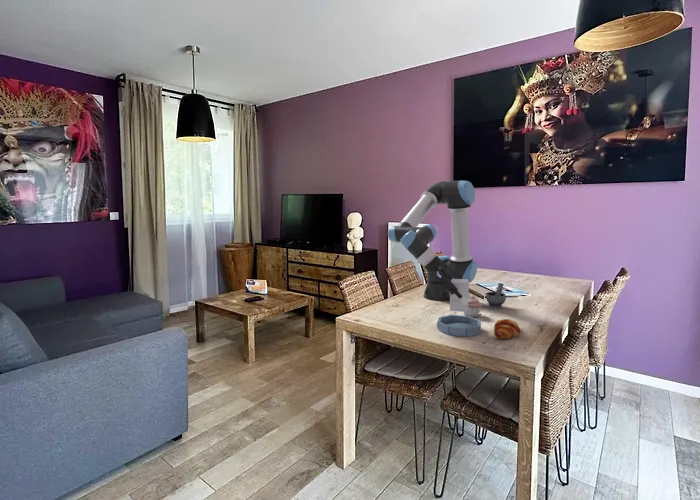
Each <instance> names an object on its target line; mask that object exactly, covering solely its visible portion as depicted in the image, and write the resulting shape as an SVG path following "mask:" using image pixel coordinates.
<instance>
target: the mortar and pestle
mask: <svg viewBox="0 0 700 500" xmlns="http://www.w3.org/2000/svg"><path fill="white" fill-rule="evenodd" d="M503 287H504V283H501V282H499V283H497V287H496V290H495V291H488V292H486V293H485V299H486V301H487V303H488V307H489V308H490V309H493V310H501V309H503V305H504V304H505V302H506V299H507V294H506V293H503Z"/></svg>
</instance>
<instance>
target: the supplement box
mask: <svg viewBox="0 0 700 500" xmlns="http://www.w3.org/2000/svg"><path fill="white" fill-rule="evenodd" d="M451 282H452V283H453V284H454V285H455V287H456V288H457V289H459V290H460V291H461V292H462V293H463V294H464V295H465V297H466V298H467V299H468V296H469V295H470V294H469V291H470V290H469V288H470V285H469V284H470V283H469V280H468V279H452V280H451ZM449 311H450V312H460V313H464V312H467V311H468V303H467V304H466V305H464V304H463V303H462V302H461V301H460V300H459V299H458V298H457V297H456V296H455V295H454V294H453V295H451V293H450V299H449Z"/></svg>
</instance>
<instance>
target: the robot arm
mask: <svg viewBox="0 0 700 500" xmlns="http://www.w3.org/2000/svg"><path fill="white" fill-rule="evenodd" d="M475 198H476V192H475V188H474V186H473V184H472V182H470V181H468V180H448V181H447V180H446V181H445V180H443V181H439V182H436V183H433V184H432V185H430V186H428V187H427V188H426V189H425V190H424V191H423V192H422V193H421V194H420V197H419V200H418V201H417V203H416V204H415V205H414V206H413V207H412V208H411V210H409V212H408V213H407V214H406V215H405V216H404V217H403V219H402V220H401V221H400V222H399V223H398V225H391V226H390V227H389V228H388V230H387V237H388V240H389V241H390V242H393V243H401V244H402V246H403V247H404V248H405V249H406V250H407V251H408V252H409V253H410V254H411V255H412V257H414V258H415V260H417V264H420V265H421V266H422V267H424V270H426V273H427V282H426V283H427V284H426V286H425V288H424V291H423V292H424V293H423V298H425V299H427V300H432V301H448V300H450V293H451V295H453V294H454V295H455V296H456V297H457V298H458V299H459V300H460V301H461V302H462V303H463V304H464V305H466V304H467V303H468V302H470V301H469V300H468V299H469V298H470V297H471V296H472V295H470V294H469V296H468V299H467V298H466V297H465V295H464V294H463V293H462V292H461V291H460V290H459V289H457V288H456V287H455V285H454V284H453V283H452V282H451V280H452V279H468V280H469V284H470V283H472V282H473V281H474V279H475V278H476V275H477V272H478V264H477V262H476V261H474V259H473V256H472V255H471V254H470V238H469V237H470V234H469V231H470V230H469V210H470V208H471V206H472V204H473V203H474V202H475ZM441 204H443V205H445V204H446V205H447V206H446V207H447V210H449V212H450V225H451V226H450V228H451V244H452V246H451V247H452V248H451V249H452V254H451V256H449V255H436V253H435V252H434V251H433V249H432V248H431V247H430V246H428V245H429V244H430V243H431V242H433V241H434V239H436V237H437V236H438V235H437V233H438V232H437V228H436V227H435V226H433V225H432V224H430V223H429V224H425V225H423V226H421V227H420V226H419V225H420V224H421V223H422V221H423V220H424V219H425V217H426V216H427V215H428V213H429V212H430V211H431V209H434V208H436V207H437V206H438V205H441Z"/></svg>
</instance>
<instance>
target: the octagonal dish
mask: <svg viewBox="0 0 700 500" xmlns="http://www.w3.org/2000/svg"><path fill="white" fill-rule="evenodd" d="M436 325H437V326H436V327H437V330H438V331H439V332H441V333H442V334H444V335H448V336H451V337H452V336H454V337H463V338H464V337H465V338H467V336H469V337H476V336H479V335H480V334H481V333H482V320H480V319H477V318H476V317H470V316H465V315H460V314H459V315H458V314H449V315H444V316H443V315H442V316H439V317H438V319H437V323H436Z"/></svg>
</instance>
